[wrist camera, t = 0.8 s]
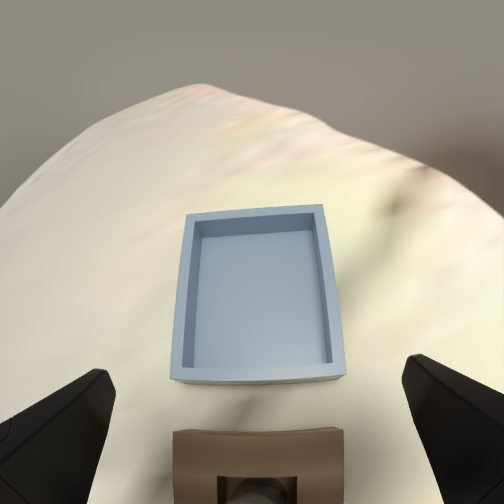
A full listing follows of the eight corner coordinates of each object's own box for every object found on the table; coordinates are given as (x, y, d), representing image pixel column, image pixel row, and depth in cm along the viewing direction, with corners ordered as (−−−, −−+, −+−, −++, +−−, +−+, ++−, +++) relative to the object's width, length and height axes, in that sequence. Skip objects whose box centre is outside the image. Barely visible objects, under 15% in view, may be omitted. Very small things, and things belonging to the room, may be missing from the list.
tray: (338, 379, 18) (346, 373, 16) (184, 383, 19) (170, 378, 17) (319, 226, 25) (322, 204, 23) (195, 234, 26) (186, 214, 24)
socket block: (332, 542, 12) (339, 561, 9) (193, 541, 12) (178, 558, 9) (333, 426, 17) (343, 429, 14) (190, 429, 18) (172, 431, 15)
